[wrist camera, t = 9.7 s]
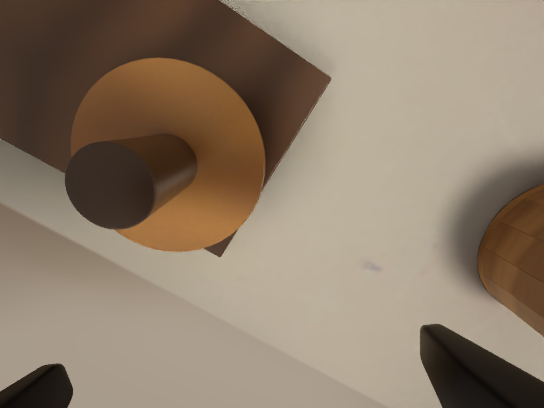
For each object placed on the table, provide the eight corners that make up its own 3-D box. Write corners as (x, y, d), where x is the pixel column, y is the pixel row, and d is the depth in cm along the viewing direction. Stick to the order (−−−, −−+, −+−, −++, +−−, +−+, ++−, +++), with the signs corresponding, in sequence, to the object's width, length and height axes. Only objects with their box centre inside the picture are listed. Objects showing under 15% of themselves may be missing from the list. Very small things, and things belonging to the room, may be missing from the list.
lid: (276, 233, 17) (278, 301, 11) (113, 252, 17) (20, 329, 11) (252, 49, 14) (235, -10, 8) (59, 76, 15) (-107, 41, 8)
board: (329, 80, 15) (332, 78, 15) (222, 252, 18) (220, 257, 18) (-142, -245, 12) (-170, -270, 11) (-183, 31, 15) (-208, 26, 14)
